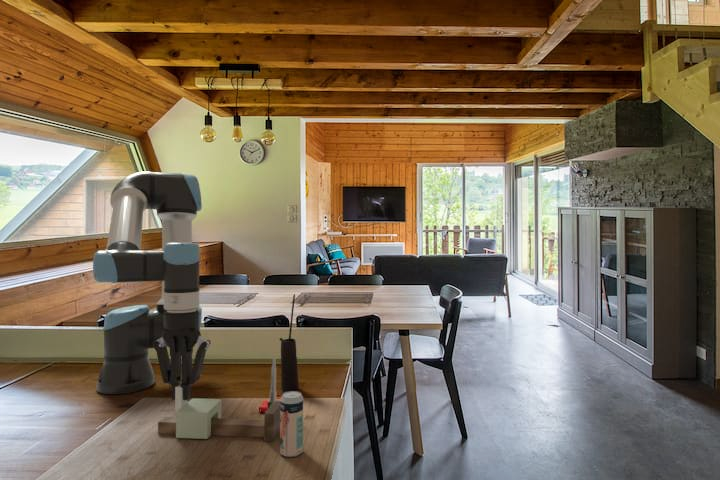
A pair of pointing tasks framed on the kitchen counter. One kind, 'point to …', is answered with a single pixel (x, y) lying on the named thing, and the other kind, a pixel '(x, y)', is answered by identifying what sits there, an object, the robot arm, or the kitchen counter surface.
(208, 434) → the slider
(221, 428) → the rail
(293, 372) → the butter churn
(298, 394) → the beer can
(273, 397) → the tow hook
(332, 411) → the kitchen counter surface
